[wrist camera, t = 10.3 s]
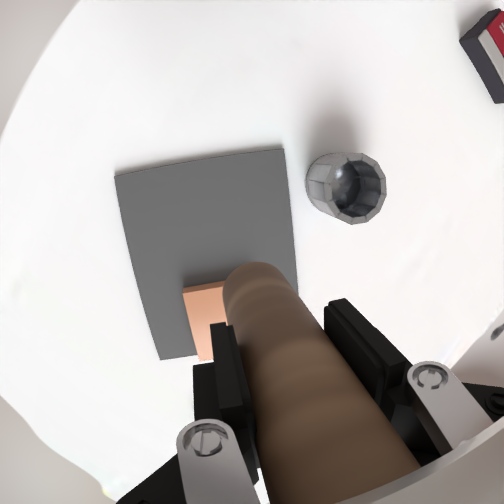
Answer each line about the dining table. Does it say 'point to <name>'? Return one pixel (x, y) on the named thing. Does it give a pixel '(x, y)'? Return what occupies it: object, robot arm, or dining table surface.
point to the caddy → (347, 186)
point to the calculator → (488, 52)
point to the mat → (203, 232)
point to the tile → (204, 314)
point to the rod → (306, 398)
